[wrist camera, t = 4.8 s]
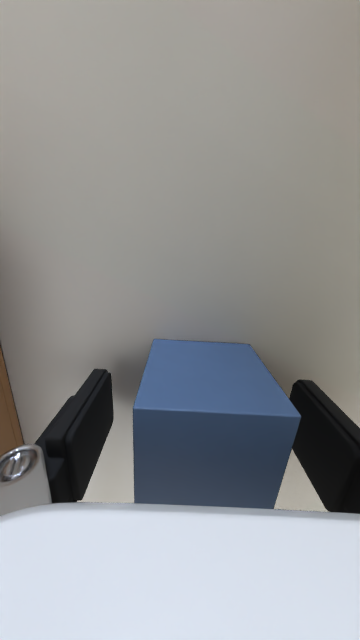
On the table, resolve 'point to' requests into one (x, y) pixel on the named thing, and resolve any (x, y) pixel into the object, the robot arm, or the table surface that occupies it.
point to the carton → (7, 414)
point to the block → (210, 427)
